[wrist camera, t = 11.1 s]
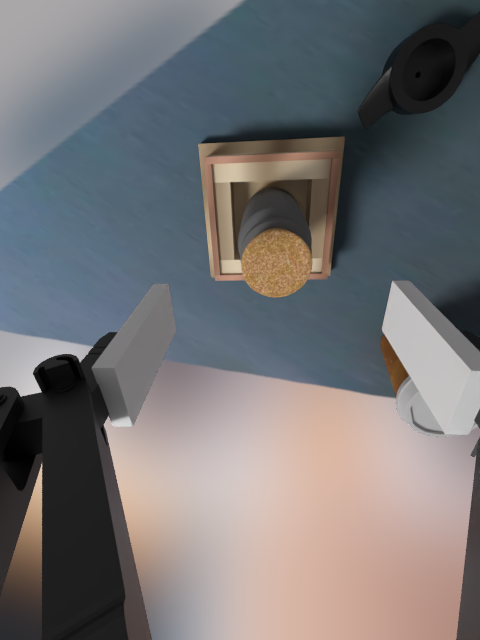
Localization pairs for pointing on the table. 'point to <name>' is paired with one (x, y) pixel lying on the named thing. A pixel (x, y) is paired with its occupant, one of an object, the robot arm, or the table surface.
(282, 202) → the bottle
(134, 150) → the table surface
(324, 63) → the table surface
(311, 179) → the holder block
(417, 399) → the disposable coffee cup
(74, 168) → the table surface
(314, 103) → the table surface
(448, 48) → the dark winged oval cup
